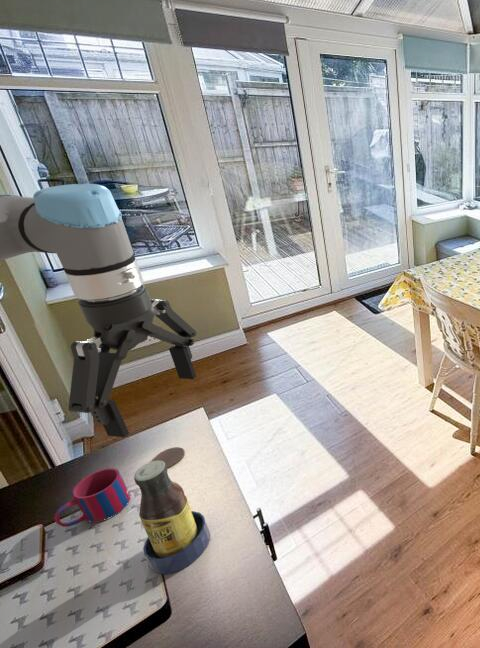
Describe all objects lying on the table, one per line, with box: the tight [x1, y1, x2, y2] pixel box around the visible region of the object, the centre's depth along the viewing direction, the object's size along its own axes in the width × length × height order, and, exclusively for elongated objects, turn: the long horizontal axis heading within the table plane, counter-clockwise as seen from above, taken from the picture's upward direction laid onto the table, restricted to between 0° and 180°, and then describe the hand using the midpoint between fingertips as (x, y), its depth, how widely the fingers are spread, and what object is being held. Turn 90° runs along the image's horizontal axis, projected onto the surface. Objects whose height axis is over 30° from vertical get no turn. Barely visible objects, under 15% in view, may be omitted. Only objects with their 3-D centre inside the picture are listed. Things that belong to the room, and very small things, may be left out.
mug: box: [53, 467, 131, 528], centre depth 79 cm, size 7×10×7 cm
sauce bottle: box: [133, 460, 199, 558], centre depth 71 cm, size 7×6×20 cm
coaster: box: [151, 446, 186, 469], centre depth 93 cm, size 6×6×1 cm
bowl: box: [142, 510, 211, 575], centre depth 75 cm, size 9×9×4 cm
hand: (156, 403), depth 69 cm, fingers open, 13 cm apart
